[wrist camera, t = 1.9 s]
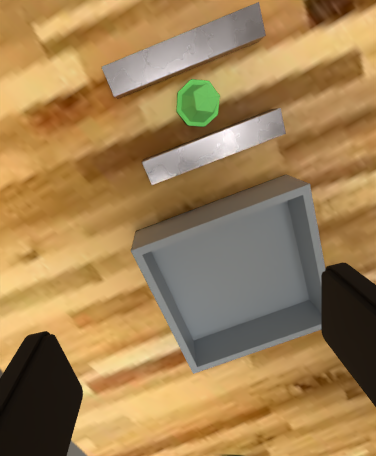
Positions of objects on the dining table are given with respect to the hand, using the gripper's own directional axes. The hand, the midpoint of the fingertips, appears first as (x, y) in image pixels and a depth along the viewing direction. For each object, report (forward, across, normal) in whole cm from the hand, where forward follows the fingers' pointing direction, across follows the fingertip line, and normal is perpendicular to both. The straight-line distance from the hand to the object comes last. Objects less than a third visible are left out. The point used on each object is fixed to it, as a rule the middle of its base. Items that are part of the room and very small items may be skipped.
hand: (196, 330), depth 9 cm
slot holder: (+21, -4, -8) cm, 23 cm away
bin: (+21, -5, +12) cm, 24 cm away
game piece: (+21, -4, -8) cm, 23 cm away
